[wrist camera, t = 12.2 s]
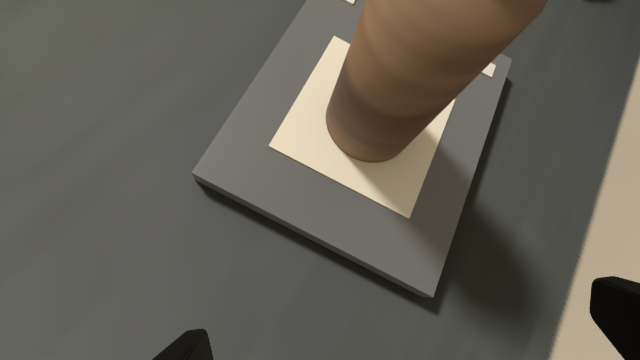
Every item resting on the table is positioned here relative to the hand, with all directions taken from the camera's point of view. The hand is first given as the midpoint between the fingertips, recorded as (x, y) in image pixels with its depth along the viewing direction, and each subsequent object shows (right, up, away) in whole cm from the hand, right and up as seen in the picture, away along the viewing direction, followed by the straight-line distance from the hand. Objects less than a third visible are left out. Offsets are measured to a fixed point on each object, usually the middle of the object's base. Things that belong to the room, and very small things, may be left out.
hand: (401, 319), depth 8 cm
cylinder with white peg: (+1, +6, +11) cm, 13 cm away
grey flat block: (+1, +7, +13) cm, 15 cm away
